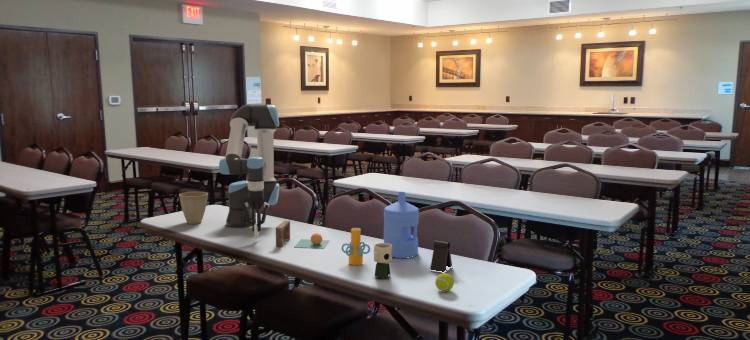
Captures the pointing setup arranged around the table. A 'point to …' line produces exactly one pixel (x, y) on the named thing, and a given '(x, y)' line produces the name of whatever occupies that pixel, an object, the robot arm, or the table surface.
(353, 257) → the orange post with rings
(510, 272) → the table surface
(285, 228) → the bridge
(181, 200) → the plant pot
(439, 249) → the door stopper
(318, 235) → the ball
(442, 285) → the tennis ball
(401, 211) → the water jug
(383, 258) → the character mug
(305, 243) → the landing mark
